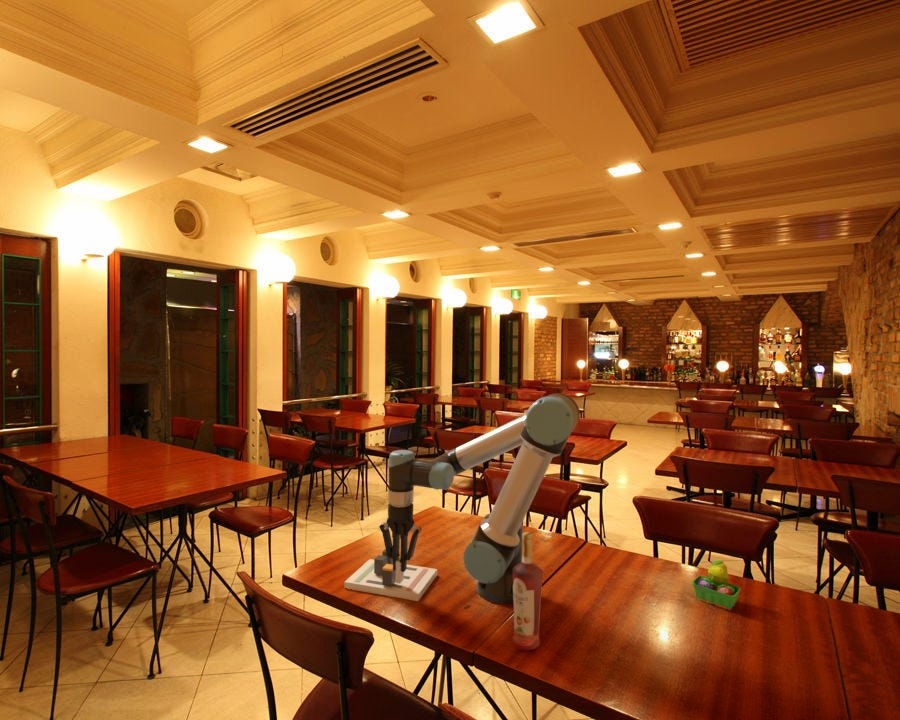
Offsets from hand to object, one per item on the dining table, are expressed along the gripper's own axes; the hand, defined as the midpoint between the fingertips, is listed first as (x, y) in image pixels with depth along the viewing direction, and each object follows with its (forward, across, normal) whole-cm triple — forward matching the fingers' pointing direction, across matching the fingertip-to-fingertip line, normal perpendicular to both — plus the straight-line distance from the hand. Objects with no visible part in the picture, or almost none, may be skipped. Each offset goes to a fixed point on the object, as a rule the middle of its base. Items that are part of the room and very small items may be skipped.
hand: (399, 581), depth 147 cm
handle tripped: (+1, +3, 0) cm, 4 cm away
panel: (+4, +5, -6) cm, 9 cm away
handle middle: (+1, +9, -6) cm, 11 cm away
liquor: (+4, -40, +14) cm, 43 cm away
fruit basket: (+3, -90, -25) cm, 93 cm away
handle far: (+1, +9, -12) cm, 15 cm away
